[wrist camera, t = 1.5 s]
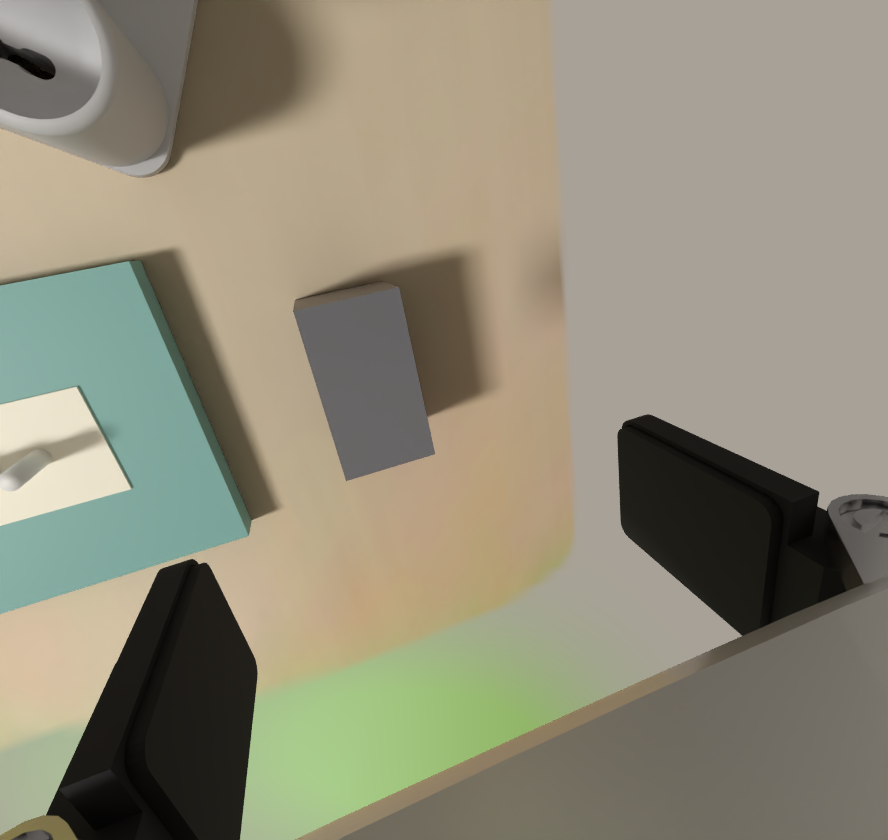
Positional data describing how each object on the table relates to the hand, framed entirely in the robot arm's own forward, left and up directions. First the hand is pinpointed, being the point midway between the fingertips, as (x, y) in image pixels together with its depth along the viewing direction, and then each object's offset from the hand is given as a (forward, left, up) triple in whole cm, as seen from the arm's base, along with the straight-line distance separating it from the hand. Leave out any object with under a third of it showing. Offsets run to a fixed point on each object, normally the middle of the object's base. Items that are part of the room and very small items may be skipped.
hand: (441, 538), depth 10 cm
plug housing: (0, 0, -16) cm, 16 cm away
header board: (0, -16, -16) cm, 23 cm away
